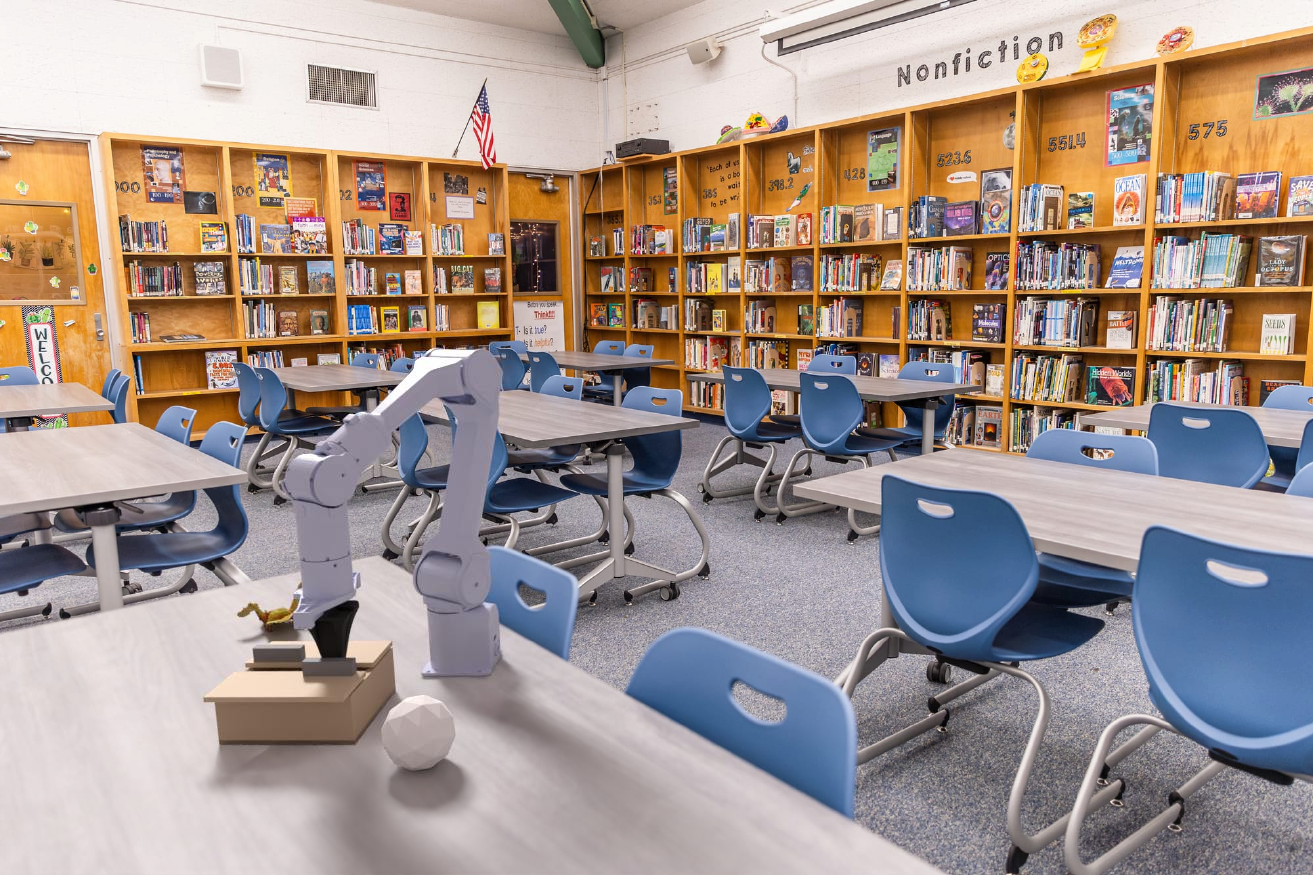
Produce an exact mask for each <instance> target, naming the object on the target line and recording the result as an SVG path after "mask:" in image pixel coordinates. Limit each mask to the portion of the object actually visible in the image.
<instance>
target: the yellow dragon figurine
mask: <svg viewBox="0 0 1313 875" xmlns="http://www.w3.org/2000/svg"><path fill="white" fill-rule="evenodd" d="M296 588H297V589H295V591H294V592H296V591H297V590H298V589H302V581H300V582H299V584H298V585H297V586H296ZM299 600H300V599H294V598H293V599H292V601H291V604H290V606H289V608H286V607H285V606H281V607H278V608H276V609H271V610H269V611H268V610H267V609H264V612H263V610H262V609H260V608H261V607H259V604H258V603H256V602H253V603H252V602H249V603H248V604H247V606H246V607H245V606H244V607H242V610H240V611H239V612H237V614H236V616H238V617H239V618H246V617H247V616H249V615H250V614H251V612H253V611H254V612H255V613H254V614H255V615H256V616H257V617H258V621H259V622H262V624H263V626H264V628H265V630H266V631H267V630H268V631H271V632H273V629H271V628H272V627H273V625H276V624H278V623H283V622H284V623H285V624H288V623H289V624H290V625H292V626H294V622H293V612H294V611H296V609H297V607H298V604H299ZM271 624H272V625H271Z"/></svg>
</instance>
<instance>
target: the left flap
mask: <svg viewBox="0 0 1313 875" xmlns="http://www.w3.org/2000/svg"><path fill="white" fill-rule="evenodd" d="M365 676H366V671H357V669H356V658H305V659H304V660H303V661H302V671H245V670H244V671H242V670H240V671H234V672H232V673H231V674H230V675H228V676H227V677H226V678H225V679H224V680H222V681H221V682H220V683H219V684H217V686H215V687H214V688H213V689H211V690H210V691H209V692H208V693H207V694H205V695H204V696H203V697H202V699H203V703H215V702H344V701H345V700H346V698H347V697H348V696H349V695H350V694H351V693H352V691H353V690H354V689H355V688H356V687H357V686H358V684H359V683H360V682H361V681H362V680H363V679H364V678H365Z"/></svg>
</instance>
